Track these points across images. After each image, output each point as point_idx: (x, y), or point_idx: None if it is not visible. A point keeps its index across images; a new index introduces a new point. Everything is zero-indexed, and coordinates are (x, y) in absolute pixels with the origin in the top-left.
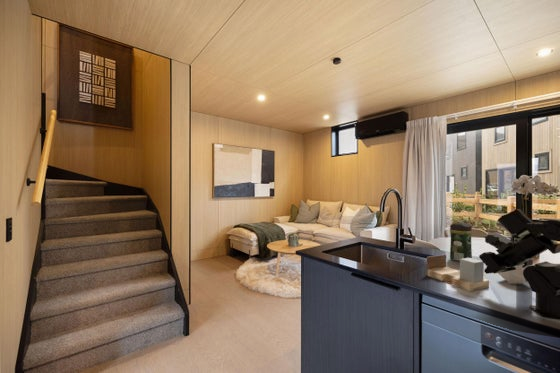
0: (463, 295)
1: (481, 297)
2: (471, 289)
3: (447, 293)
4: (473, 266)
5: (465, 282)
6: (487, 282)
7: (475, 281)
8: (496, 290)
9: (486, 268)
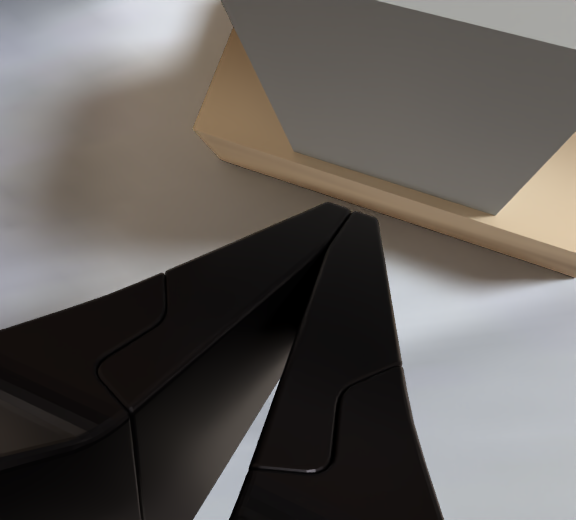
0: (55, 152)
1: (126, 284)
2: (244, 164)
3: (2, 43)
4: (236, 3)
5: (217, 78)
6: (564, 257)
7: (316, 155)
8: (516, 366)
9: (254, 241)
